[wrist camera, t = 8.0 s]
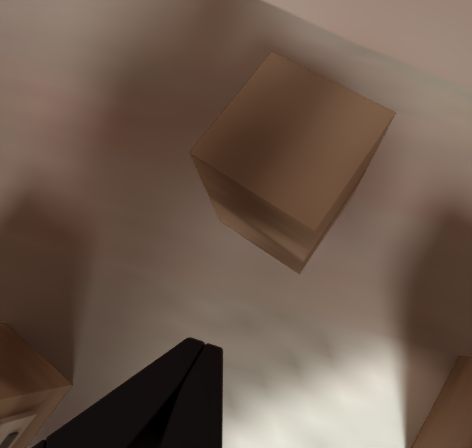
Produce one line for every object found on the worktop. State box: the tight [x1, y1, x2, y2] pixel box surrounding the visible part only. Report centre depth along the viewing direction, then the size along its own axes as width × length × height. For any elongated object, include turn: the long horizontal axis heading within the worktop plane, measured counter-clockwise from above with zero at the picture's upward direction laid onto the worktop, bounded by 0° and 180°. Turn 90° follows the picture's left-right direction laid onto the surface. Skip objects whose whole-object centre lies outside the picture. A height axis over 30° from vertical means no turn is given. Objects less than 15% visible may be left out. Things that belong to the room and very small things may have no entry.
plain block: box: [189, 52, 396, 274], centre depth 19 cm, size 6×6×9 cm
